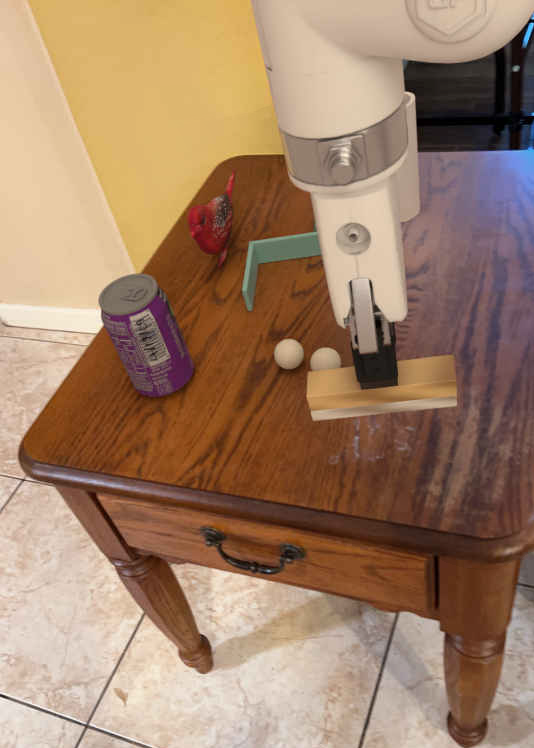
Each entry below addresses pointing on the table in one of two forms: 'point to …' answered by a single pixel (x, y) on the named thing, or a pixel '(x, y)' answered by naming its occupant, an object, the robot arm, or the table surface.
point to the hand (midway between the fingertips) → (377, 360)
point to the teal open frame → (276, 256)
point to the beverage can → (146, 334)
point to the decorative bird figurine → (213, 223)
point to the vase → (409, 168)
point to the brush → (383, 389)
